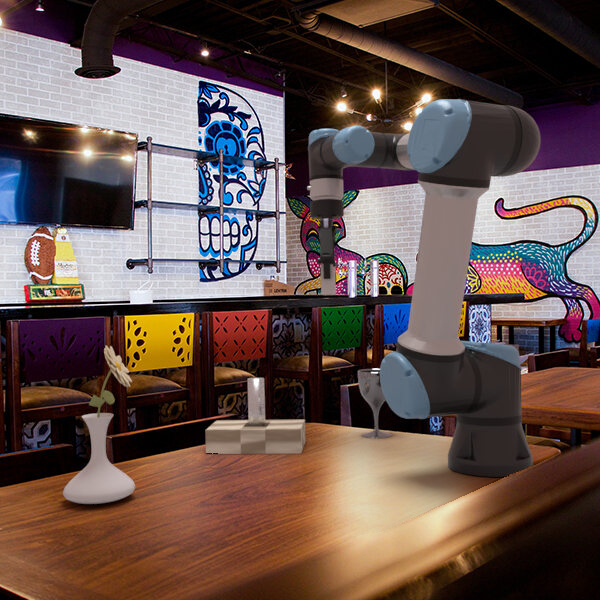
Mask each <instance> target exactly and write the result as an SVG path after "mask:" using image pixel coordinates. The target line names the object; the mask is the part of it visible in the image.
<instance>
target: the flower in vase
mask: <svg viewBox="0 0 600 600" xmlns="http://www.w3.org/2000/svg"><path fill="white" fill-rule="evenodd" d="M103 348H104V347H103ZM103 353H104V358H105V360H106V363H107V365H108V366H109V368H110V369H109V371H108V372H107V375H106V377H105V380H104V381H103V384H102V388H101V392H100V396H99V397H98V395H95V394H92V398H91V399H90V401H89V403H88V406H92V407H95V408H98V409H97V412H96V413H88V414H83V415H81V418H82V419H83V421H84V423H86V426H87V428H88V432H89V435H90V444H91V450H90V451H91V455H90V460H89V462H88V463H87V465H86V466H85V467H84V468H82V470H81V471H80V472H78V473H77V474H76V475H75V476H74V477H73V478H72V479H71V480H70V481H68V483H67V484H66V485H65V487H64V489H63V492H62V495H63V496H64V498H65V499H66V500H67V501H70V502H72V503H76V504H83V505H93V504H94V505H97V504H99V505H100V504H106V503H111V502H116V501H119V500H121V499H124V498H126V497H128V496H130V495H132V494H133V492H134V490H135V489H136V484H135V482H134V480H133V479H132V478H131V477H130V476H128V475H127V474H126V473H125V472H124V471H122V470H121V469H119V468H117V467H116V465H114V464H112V463H111V461H110V460H109V459H108V456H107V452H106V451H107V448H106V445H107V444H106V442H107V441H106V440H107V439H106V438H107V432H108V427H109V425H110V422H111V420H112V418H113V417H114V413H111V412H101V407H102V405H104V403H105V402H106V403H107V404H108V405H113V404H114V403H115V400H116V399H115V397H114V394H113V393H112V392H111V391H109V390H105V387H106V385H107V382H108V379H109V377H110V376H111V374H112V375H114V377H115V379H117V381H118V382H119V384H120V385H123V386H124V387H126V388H128V387H130V388H131V384H130V383H133V380H132V379H131V377H130V375H129V373H130V370H129V369H128V368H127V367H126V366H125V364H124V363H123V361H122V357H121V355H116V353H115V351H114V348H113V346H112V345H110V346H109V347H108V345H105V348H104V349H103Z"/></svg>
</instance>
